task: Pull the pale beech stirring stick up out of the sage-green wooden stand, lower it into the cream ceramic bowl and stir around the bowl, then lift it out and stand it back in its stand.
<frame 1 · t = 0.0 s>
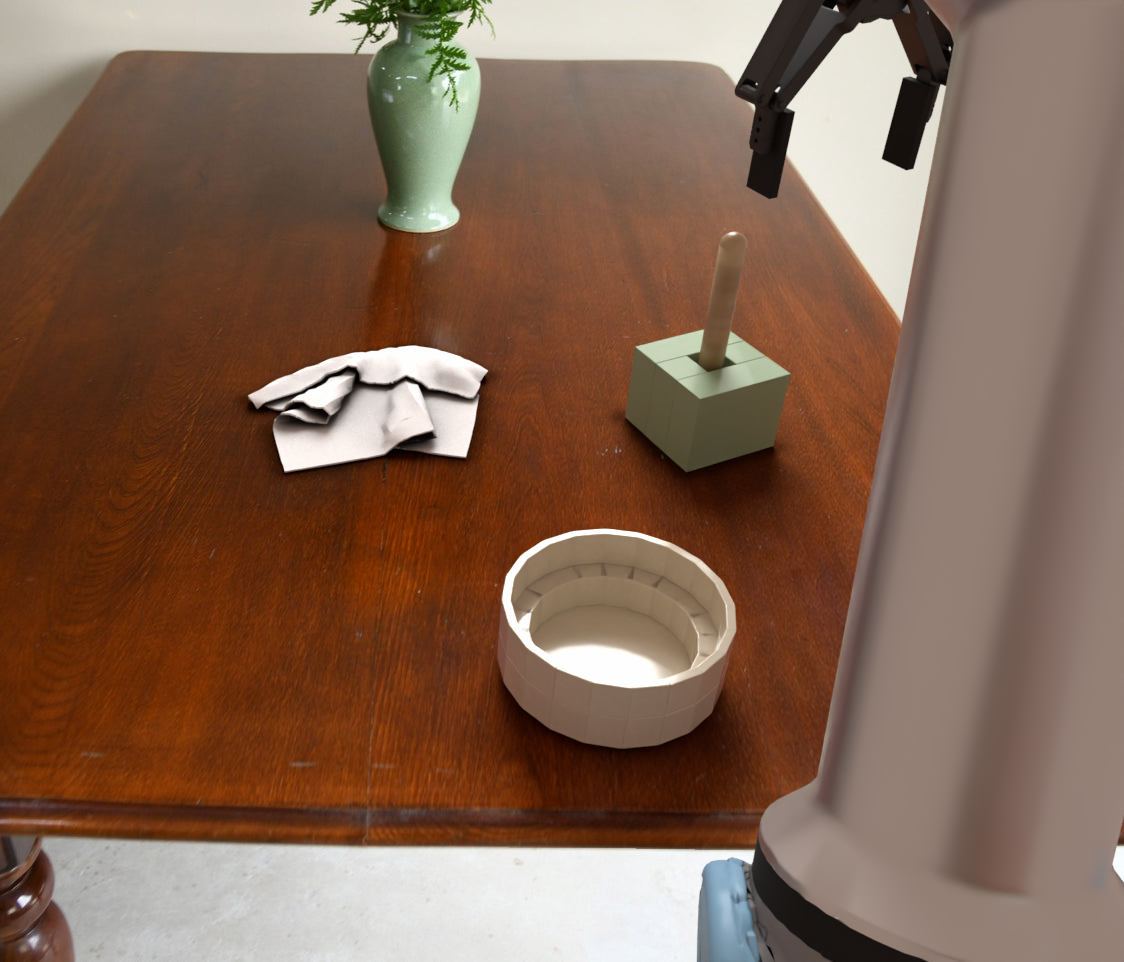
hand: (831, 178, 88), 20 cm above the table, tool pointing down, fingers open, 13 cm apart
cloth: (366, 410, 98), on the table
bowl: (607, 669, 73), on the table
stick: (715, 338, 90), in the stand
coffee cup: (931, 674, 73), on the table
stand: (697, 431, 95), on the table
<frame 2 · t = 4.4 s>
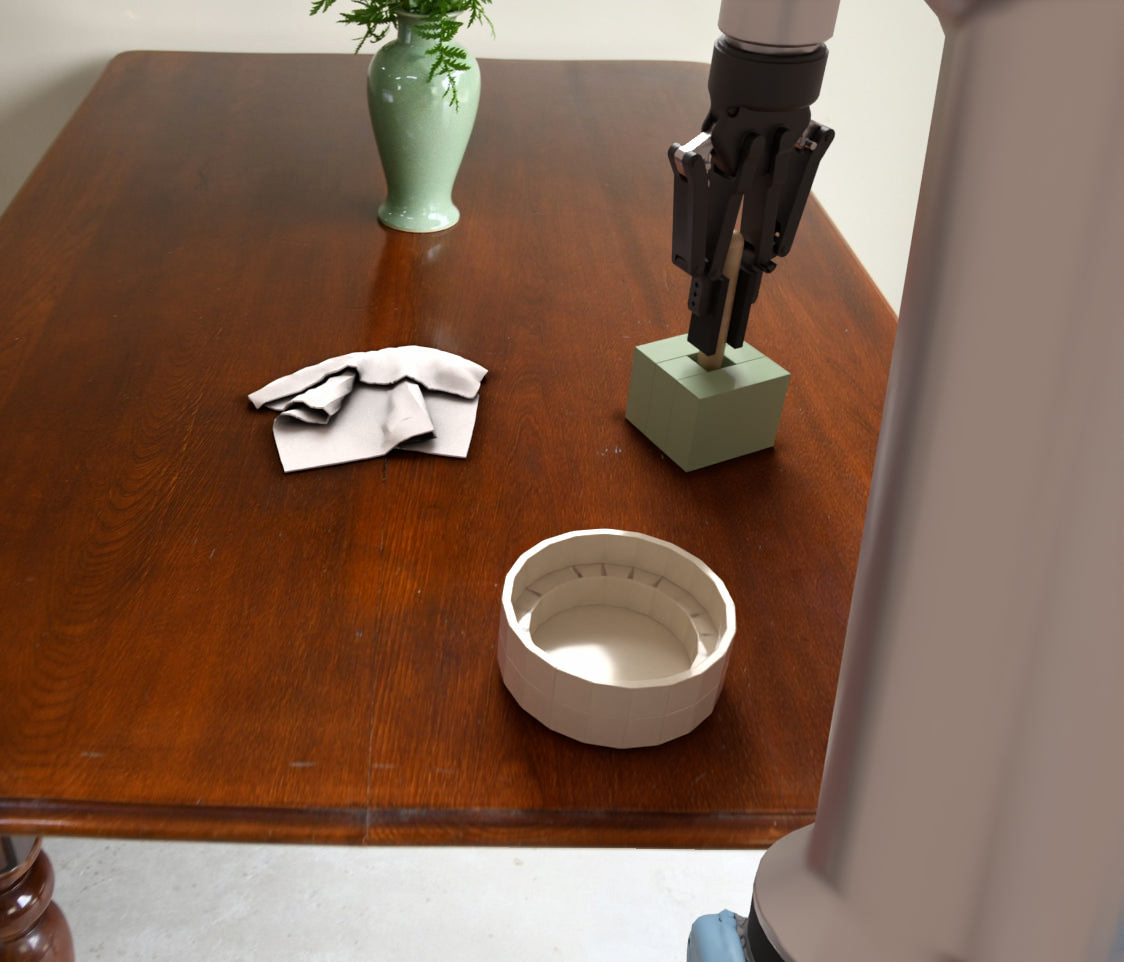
hand: (714, 343, 90), 9 cm above the table, tool pointing down, fingers closed on stick, 2 cm apart
stick: (714, 336, 90), in the stand, touching gripper
everything else where it was.
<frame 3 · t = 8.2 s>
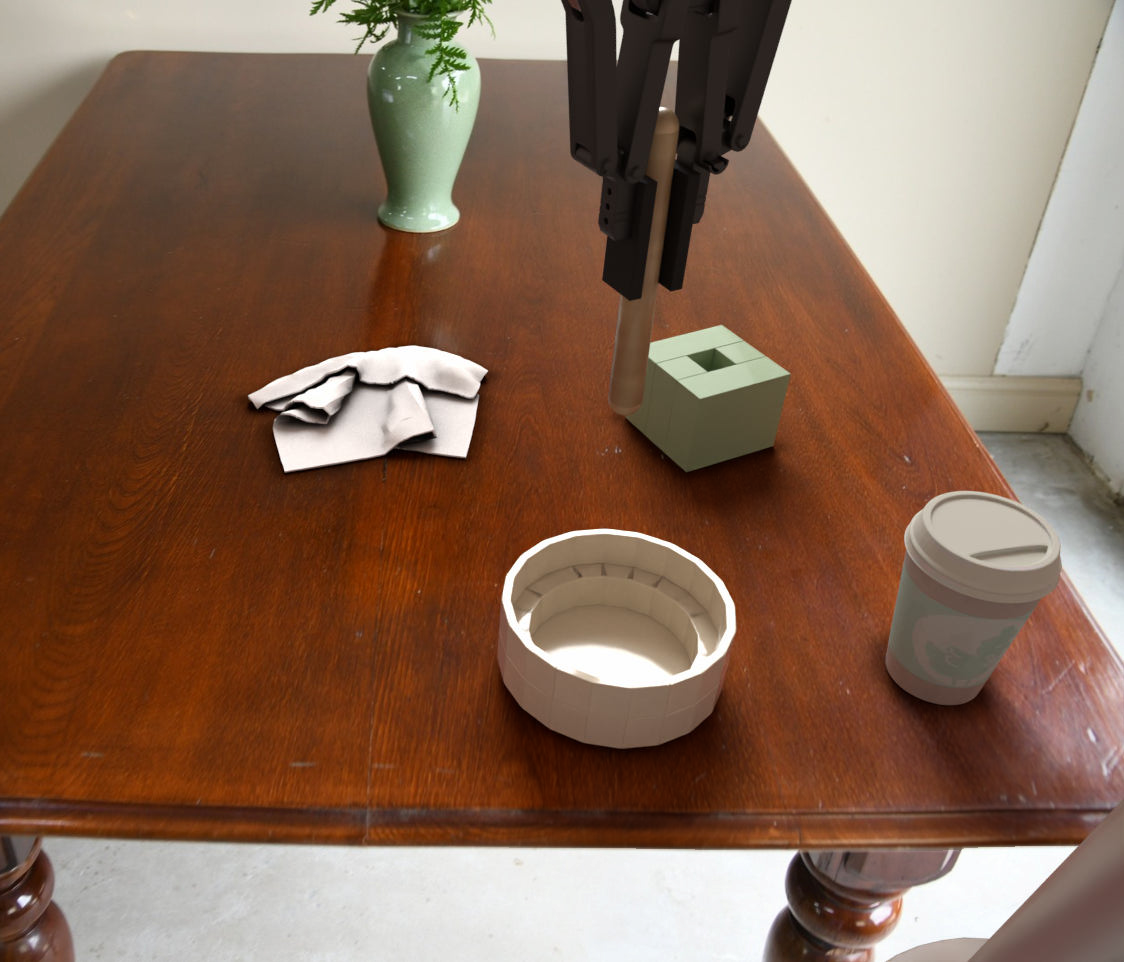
hand: (641, 283, 62), 25 cm above the table, tool pointing down, fingers closed on stick, 2 cm apart
stick: (640, 273, 62), point 26 cm above the table, touching gripper
everything else where it was.
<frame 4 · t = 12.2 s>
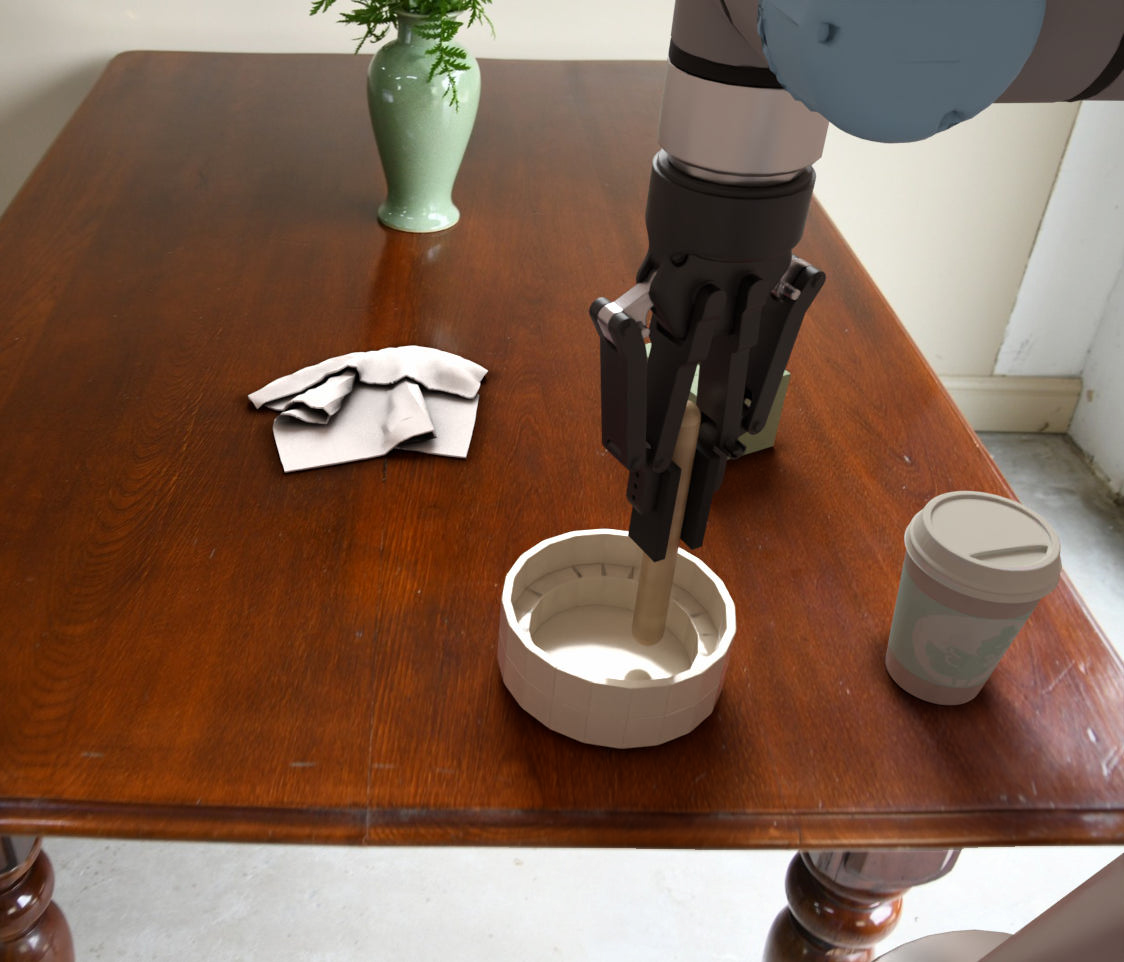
hand: (665, 540, 67), 11 cm above the table, tool pointing down, fingers closed on stick, 2 cm apart
stick: (663, 531, 67), point 11 cm above the table, touching gripper
everything else where it was.
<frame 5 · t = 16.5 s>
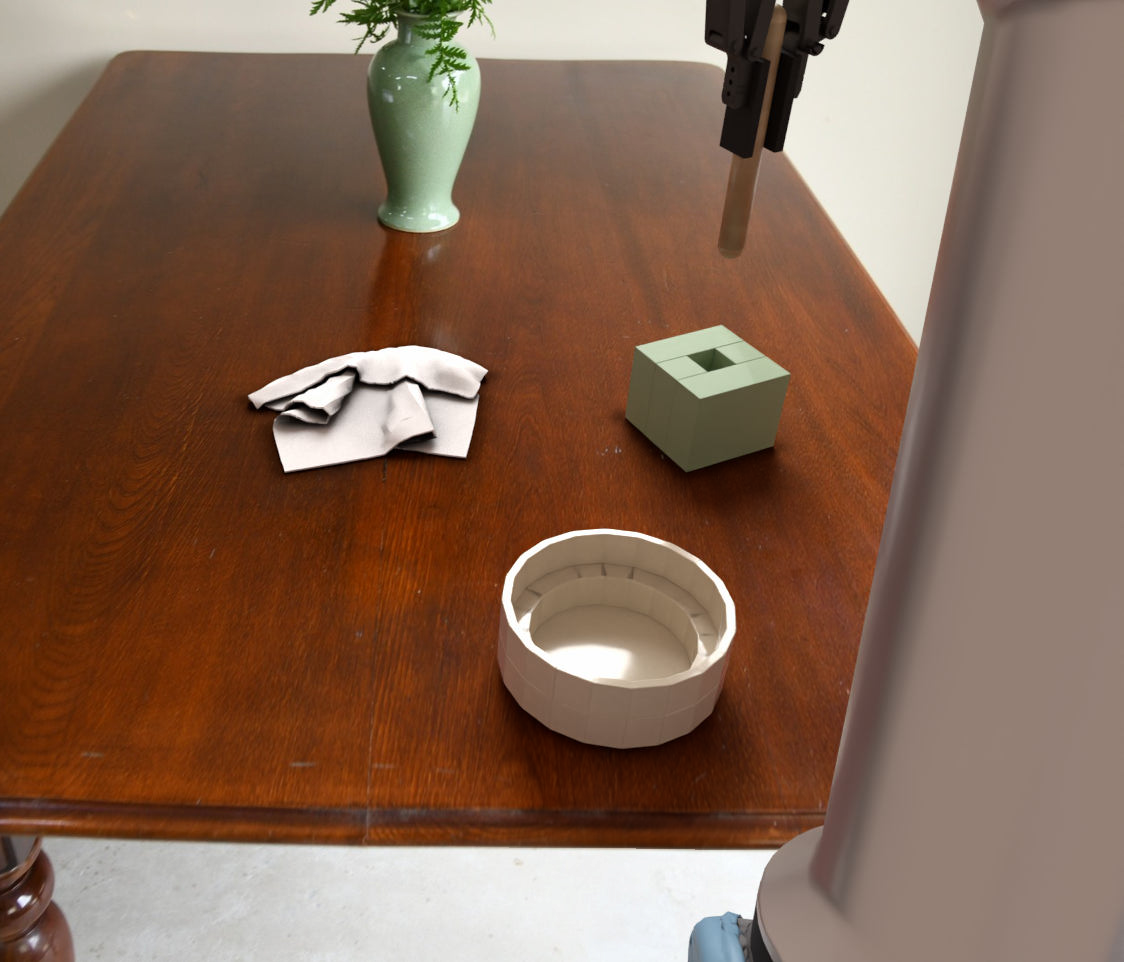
hand: (751, 147, 79), 25 cm above the table, tool pointing down, fingers closed on stick, 2 cm apart
stick: (750, 138, 79), point 25 cm above the table, touching gripper
everything else where it was.
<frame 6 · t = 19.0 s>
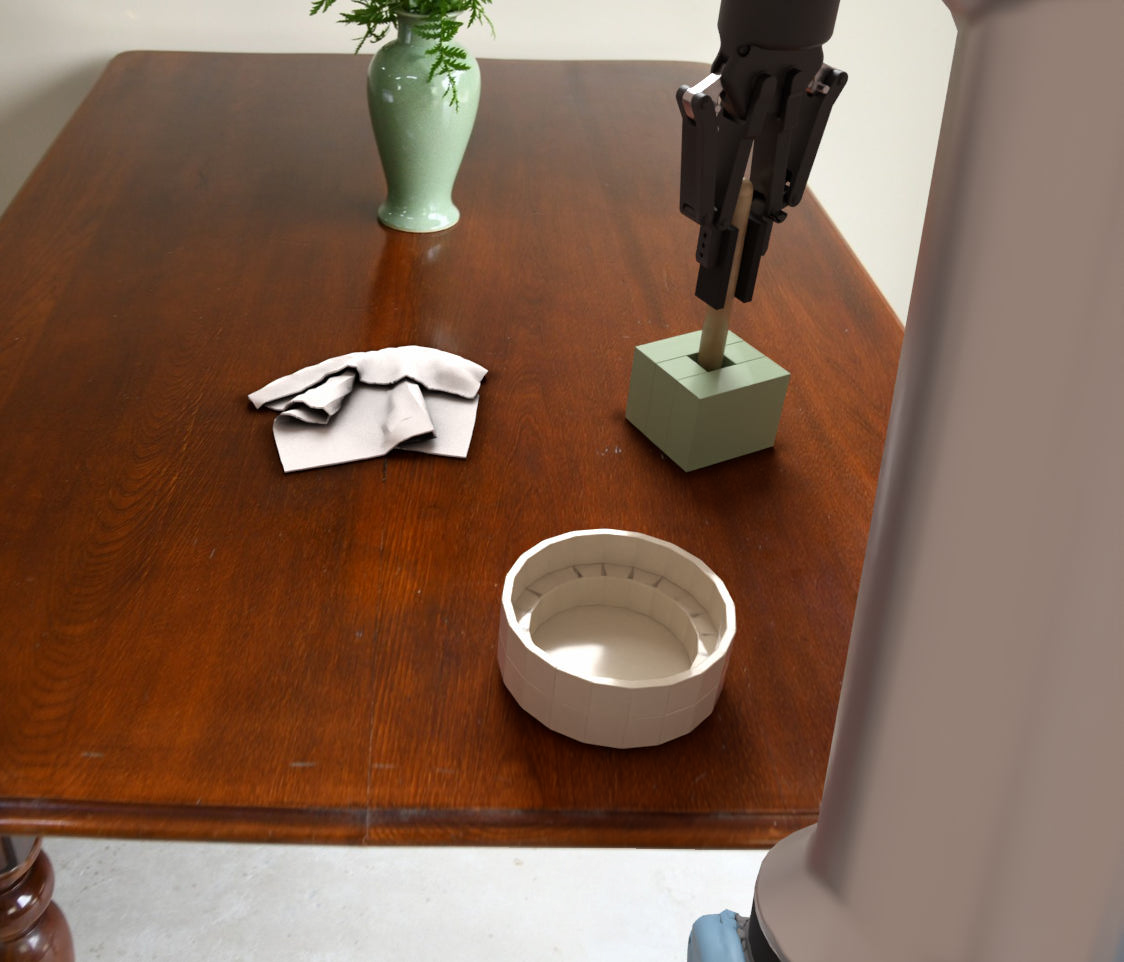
hand: (723, 297, 88), 13 cm above the table, tool pointing down, fingers closed on stick, 2 cm apart
stick: (722, 289, 87), point 13 cm above the table, touching gripper
everything else where it was.
when the fingers open (8 cm above the table, at t = 20.1 s): stick stays where it is, resting on stand.
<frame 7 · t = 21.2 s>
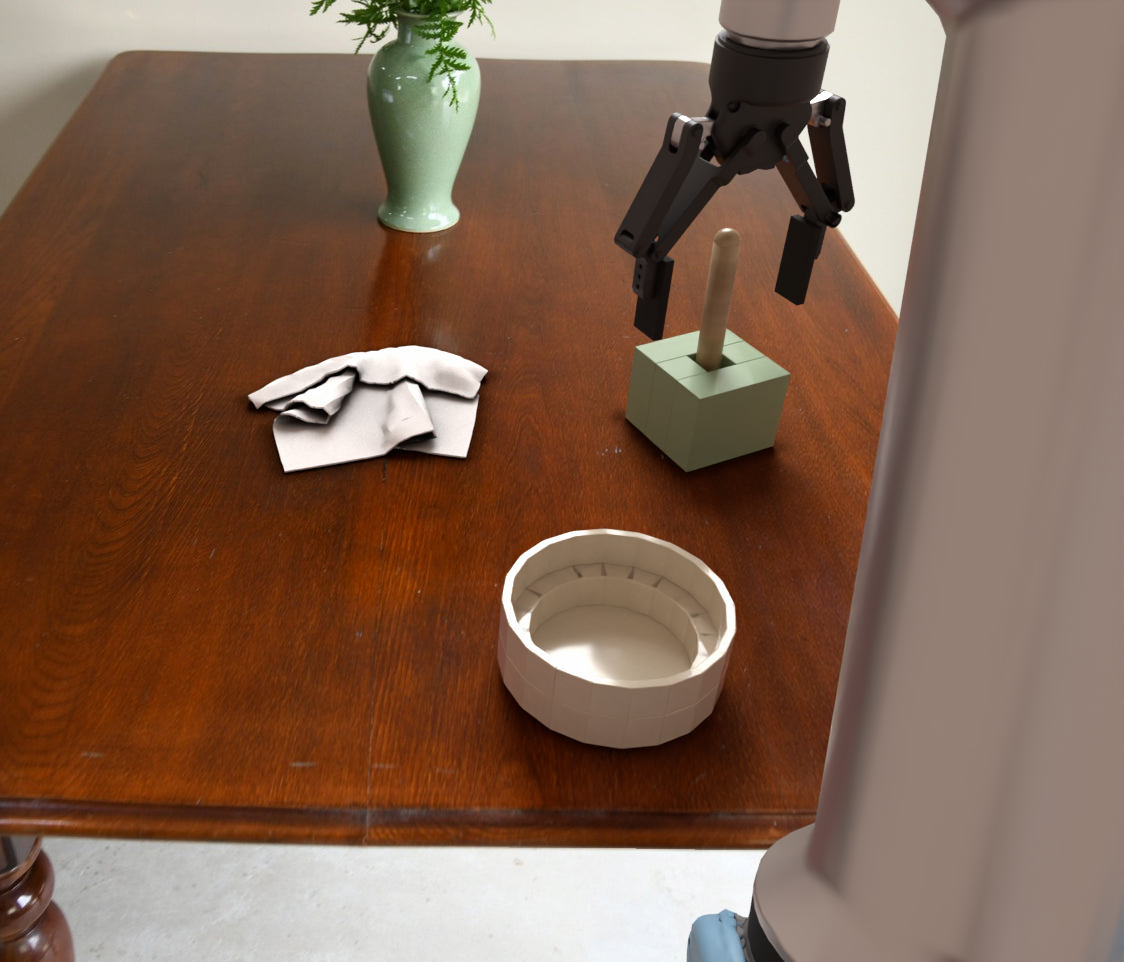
hand: (720, 315, 88), 11 cm above the table, tool pointing down, fingers open, 13 cm apart
stick: (712, 335, 90), in the stand
everything else where it was.
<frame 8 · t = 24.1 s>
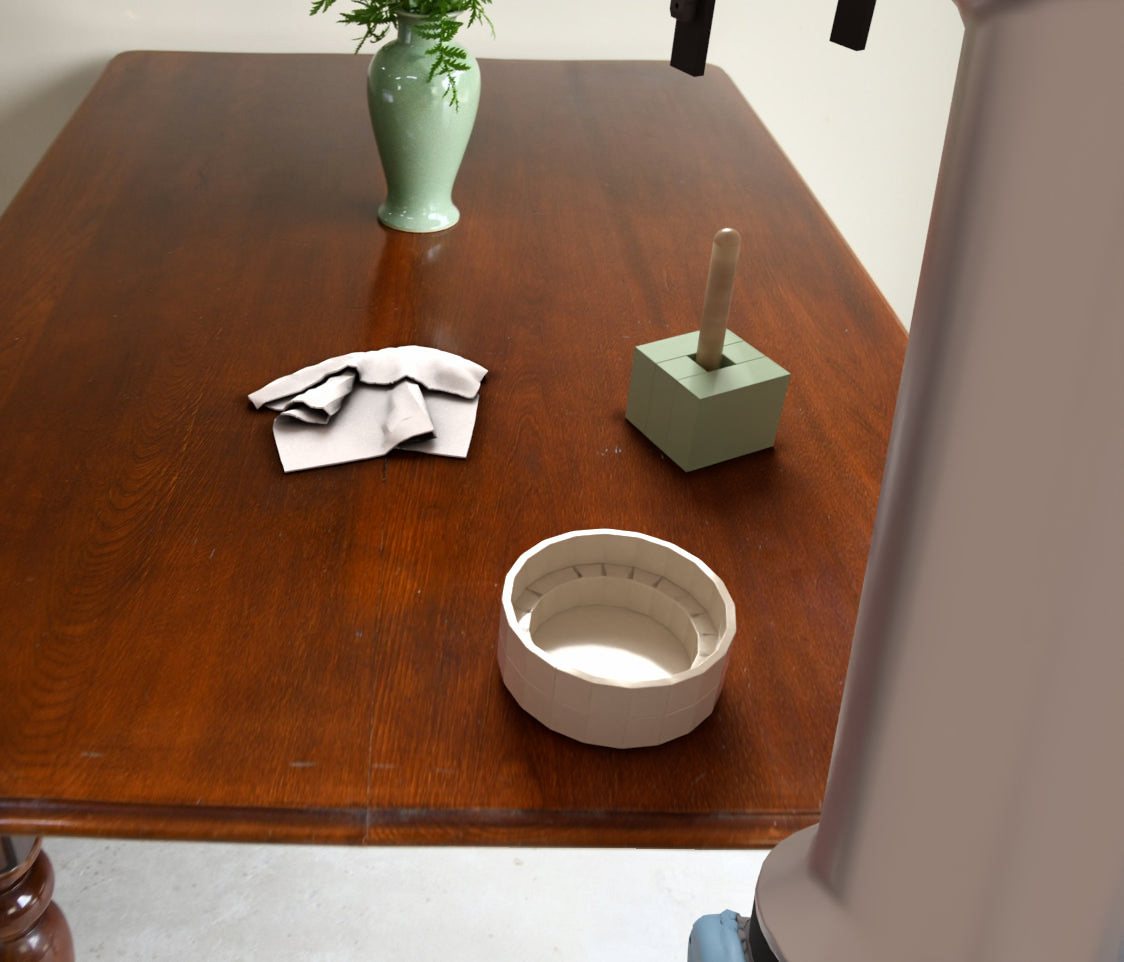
hand: (768, 58, 77), 31 cm above the table, tool pointing down, fingers open, 13 cm apart
nothing on the table moved.
at the end: stick 0.2 cm off-centre in the stand, point 9.0 cm above the stand's base; stick tilted 2°; stick touching stand, table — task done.
